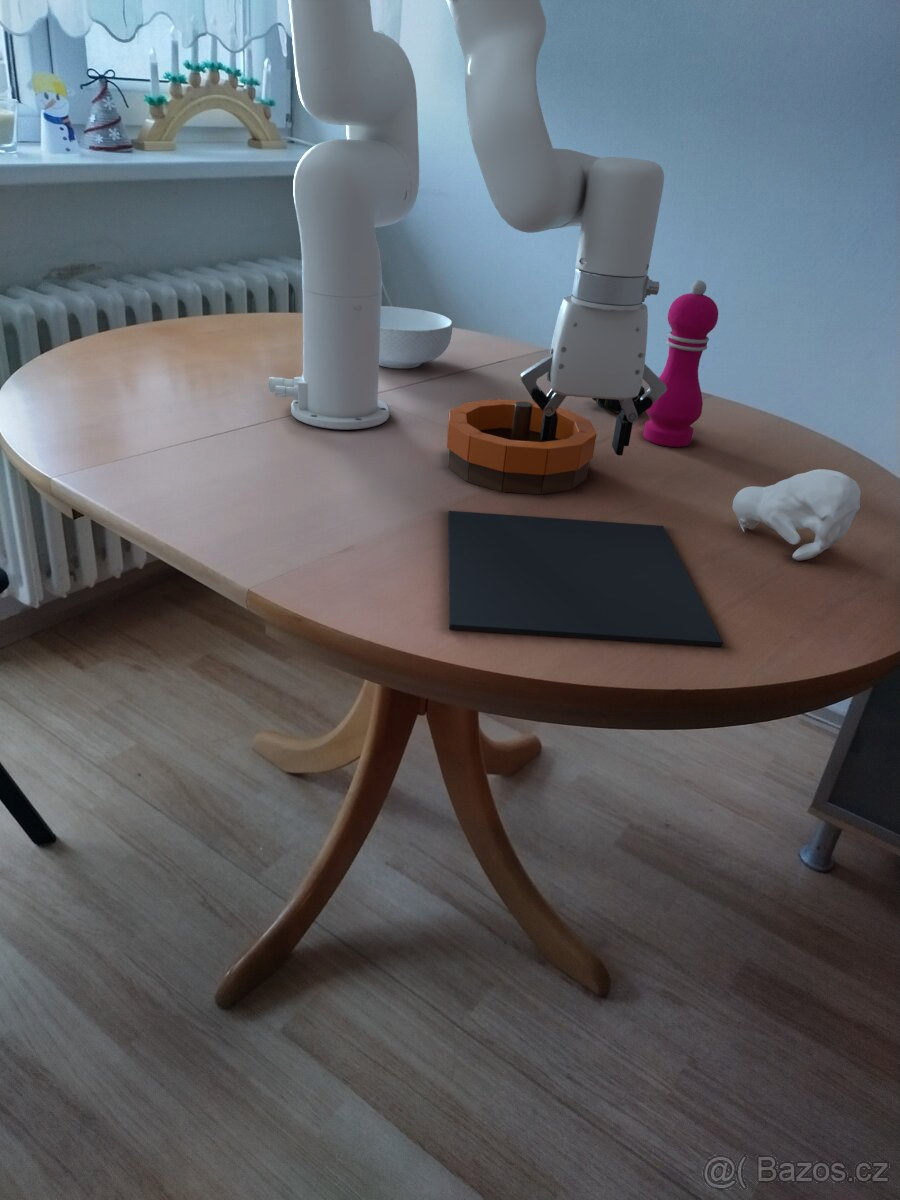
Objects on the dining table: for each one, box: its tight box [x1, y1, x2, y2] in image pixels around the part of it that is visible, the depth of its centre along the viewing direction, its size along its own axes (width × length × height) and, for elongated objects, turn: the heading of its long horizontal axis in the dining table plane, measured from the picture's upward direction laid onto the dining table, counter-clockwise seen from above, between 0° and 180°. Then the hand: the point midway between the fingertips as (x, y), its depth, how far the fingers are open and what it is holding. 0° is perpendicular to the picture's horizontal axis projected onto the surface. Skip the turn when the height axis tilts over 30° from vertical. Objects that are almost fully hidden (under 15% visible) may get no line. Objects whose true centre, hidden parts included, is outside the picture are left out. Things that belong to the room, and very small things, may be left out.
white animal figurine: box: [731, 468, 862, 561], centre depth 86 cm, size 6×8×12 cm
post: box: [511, 400, 533, 441], centre depth 99 cm, size 8×8×8 cm
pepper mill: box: [642, 279, 719, 448], centre depth 109 cm, size 7×7×20 cm
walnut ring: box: [447, 428, 590, 495], centre depth 100 cm, size 16×16×2 cm
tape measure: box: [591, 385, 646, 414], centre depth 122 cm, size 7×7×4 cm
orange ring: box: [446, 398, 597, 475], centre depth 99 cm, size 17×17×3 cm
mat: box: [447, 510, 724, 648], centre depth 78 cm, size 22×22×1 cm
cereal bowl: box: [379, 305, 454, 370], centre depth 135 cm, size 17×17×7 cm
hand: (583, 448), depth 100 cm, fingers open, 7 cm apart
